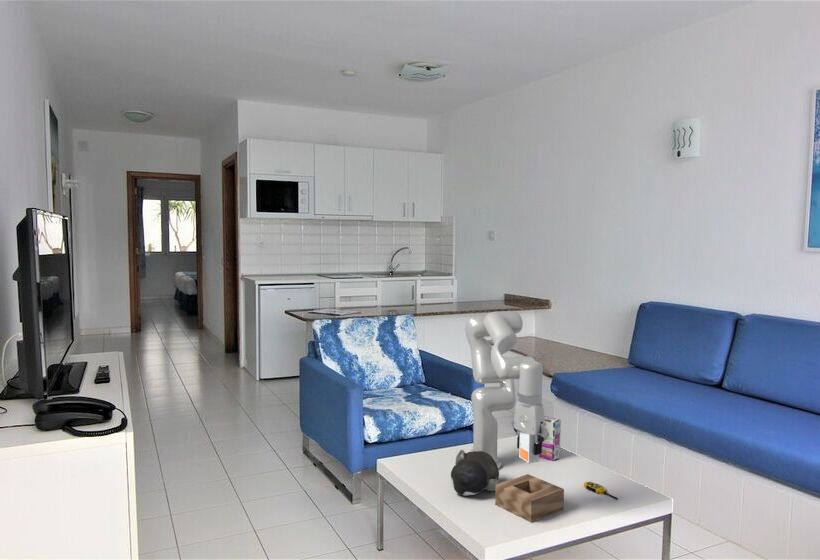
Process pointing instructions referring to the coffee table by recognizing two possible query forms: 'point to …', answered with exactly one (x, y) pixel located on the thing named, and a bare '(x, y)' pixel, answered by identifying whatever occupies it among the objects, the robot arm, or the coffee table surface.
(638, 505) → the coffee table surface
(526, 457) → the skincare box
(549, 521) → the coffee table surface
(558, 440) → the candy bar box
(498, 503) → the socket block
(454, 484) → the dark grey rounded piece
